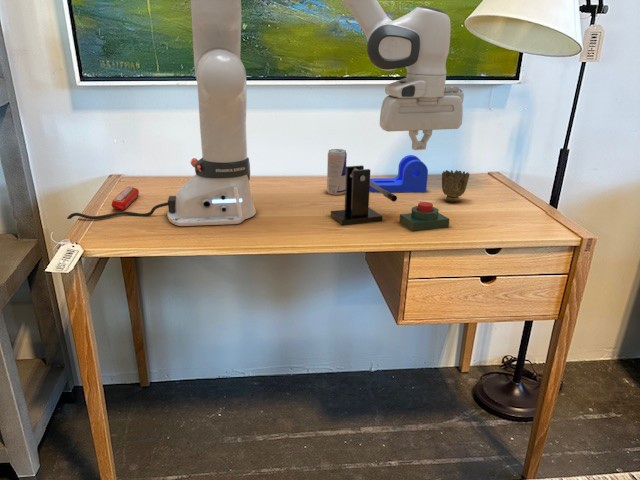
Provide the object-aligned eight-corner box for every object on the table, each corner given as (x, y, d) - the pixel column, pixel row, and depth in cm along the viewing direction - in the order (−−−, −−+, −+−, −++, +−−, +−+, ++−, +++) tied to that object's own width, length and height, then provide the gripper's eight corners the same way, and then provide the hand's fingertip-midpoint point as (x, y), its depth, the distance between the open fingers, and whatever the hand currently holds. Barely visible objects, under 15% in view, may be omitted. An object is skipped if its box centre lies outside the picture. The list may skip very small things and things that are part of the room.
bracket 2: (419, 184, 180) (422, 155, 175) (426, 192, 172) (429, 161, 168) (361, 185, 178) (362, 155, 174) (365, 192, 171) (367, 161, 167)
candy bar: (124, 212, 151) (122, 201, 150) (110, 212, 151) (108, 200, 150) (141, 195, 166) (140, 184, 164) (128, 195, 166) (126, 184, 164)
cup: (443, 196, 169) (446, 168, 165) (468, 199, 166) (472, 171, 162) (435, 202, 163) (438, 173, 159) (461, 206, 160) (465, 177, 156)
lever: (385, 198, 153) (390, 190, 152) (394, 204, 148) (399, 195, 148) (347, 174, 146) (352, 166, 145) (354, 179, 142) (360, 170, 141)
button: (422, 213, 142) (422, 206, 141) (415, 209, 145) (415, 202, 144) (435, 212, 143) (435, 205, 142) (427, 208, 146) (428, 201, 145)
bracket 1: (369, 212, 154) (371, 163, 148) (382, 221, 148) (385, 170, 142) (330, 215, 151) (331, 166, 145) (341, 225, 144) (343, 173, 138)
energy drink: (348, 191, 172) (349, 150, 166) (341, 196, 167) (342, 153, 162) (331, 189, 174) (332, 148, 168) (324, 193, 169) (324, 151, 164)
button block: (412, 231, 141) (413, 215, 139) (399, 222, 147) (400, 207, 145) (448, 227, 144) (450, 211, 142) (434, 218, 150) (435, 203, 148)
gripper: (457, 85, 139) (449, 144, 145) (378, 86, 132) (374, 148, 139) (471, 88, 133) (463, 150, 140) (391, 89, 127) (386, 154, 134)
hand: (418, 149), depth 139 cm, fingers closed
